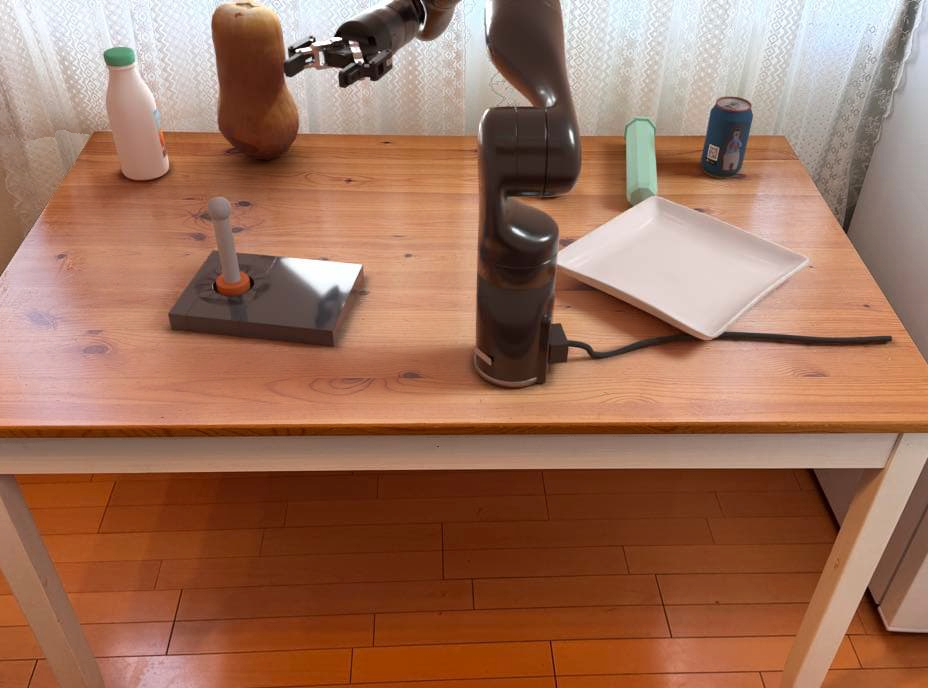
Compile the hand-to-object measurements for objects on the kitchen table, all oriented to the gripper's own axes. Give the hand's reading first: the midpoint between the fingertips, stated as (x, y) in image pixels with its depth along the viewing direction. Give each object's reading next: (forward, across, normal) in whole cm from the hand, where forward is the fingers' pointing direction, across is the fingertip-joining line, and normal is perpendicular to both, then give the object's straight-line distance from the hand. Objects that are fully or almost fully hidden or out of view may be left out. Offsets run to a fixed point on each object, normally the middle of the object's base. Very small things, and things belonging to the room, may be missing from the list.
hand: (313, 75), depth 123 cm
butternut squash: (-18, -24, +24) cm, 39 cm away
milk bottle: (-4, -38, +24) cm, 45 cm away
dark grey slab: (+20, +3, +24) cm, 31 cm away
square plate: (-10, +52, +24) cm, 58 cm away
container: (-38, +38, +24) cm, 59 cm away
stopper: (+21, -2, +24) cm, 32 cm away
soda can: (-46, +50, +24) cm, 73 cm away
